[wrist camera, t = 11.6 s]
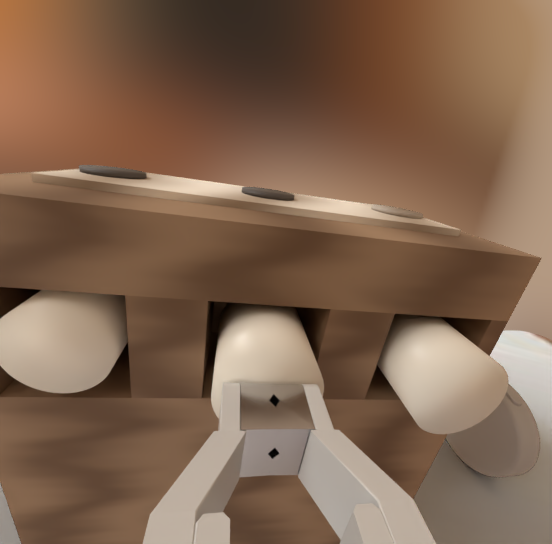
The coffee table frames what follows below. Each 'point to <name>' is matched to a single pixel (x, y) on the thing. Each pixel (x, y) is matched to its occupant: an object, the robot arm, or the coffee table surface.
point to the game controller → (500, 440)
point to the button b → (440, 374)
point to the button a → (63, 339)
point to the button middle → (262, 349)
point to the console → (204, 331)
